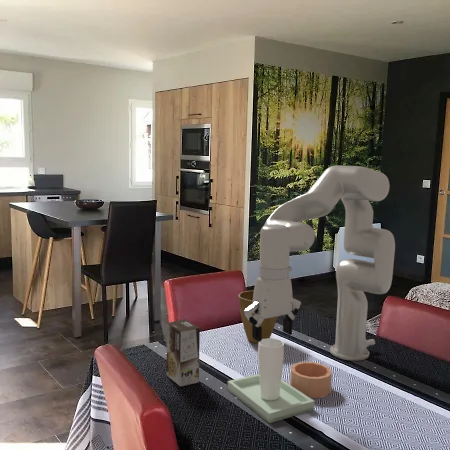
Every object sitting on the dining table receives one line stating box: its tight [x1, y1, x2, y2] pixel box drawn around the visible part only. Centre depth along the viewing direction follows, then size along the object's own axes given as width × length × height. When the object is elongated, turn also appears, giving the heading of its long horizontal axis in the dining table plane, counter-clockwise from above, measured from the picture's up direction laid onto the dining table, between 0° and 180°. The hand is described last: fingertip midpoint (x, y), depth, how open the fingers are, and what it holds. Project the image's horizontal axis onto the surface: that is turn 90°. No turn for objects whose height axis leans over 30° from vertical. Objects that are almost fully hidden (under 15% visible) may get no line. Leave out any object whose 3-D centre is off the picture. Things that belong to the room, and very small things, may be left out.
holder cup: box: [289, 361, 333, 399], centre depth 144 cm, size 11×11×6 cm
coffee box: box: [165, 319, 201, 387], centre depth 147 cm, size 9×6×16 cm
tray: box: [227, 373, 315, 424], centre depth 137 cm, size 14×20×2 cm
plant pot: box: [238, 290, 279, 344], centre depth 179 cm, size 15×15×16 cm
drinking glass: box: [257, 337, 285, 401], centre depth 136 cm, size 7×7×15 cm
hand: (272, 336), depth 135 cm, fingers open, 9 cm apart
